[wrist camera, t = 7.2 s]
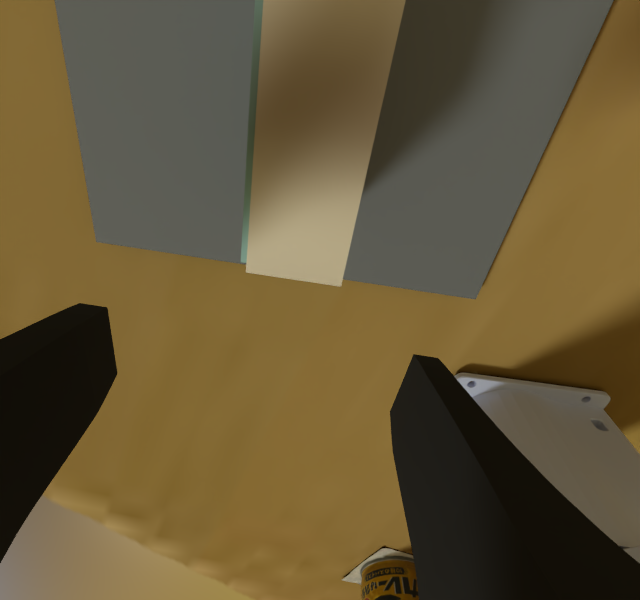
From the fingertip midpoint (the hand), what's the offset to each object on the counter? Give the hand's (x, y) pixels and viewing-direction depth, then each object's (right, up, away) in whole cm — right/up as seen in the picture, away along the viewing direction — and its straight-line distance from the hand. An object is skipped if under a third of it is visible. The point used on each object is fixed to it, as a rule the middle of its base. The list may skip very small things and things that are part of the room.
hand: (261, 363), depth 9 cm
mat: (+1, +9, +5) cm, 11 cm away
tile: (+1, +9, +5) cm, 10 cm away
